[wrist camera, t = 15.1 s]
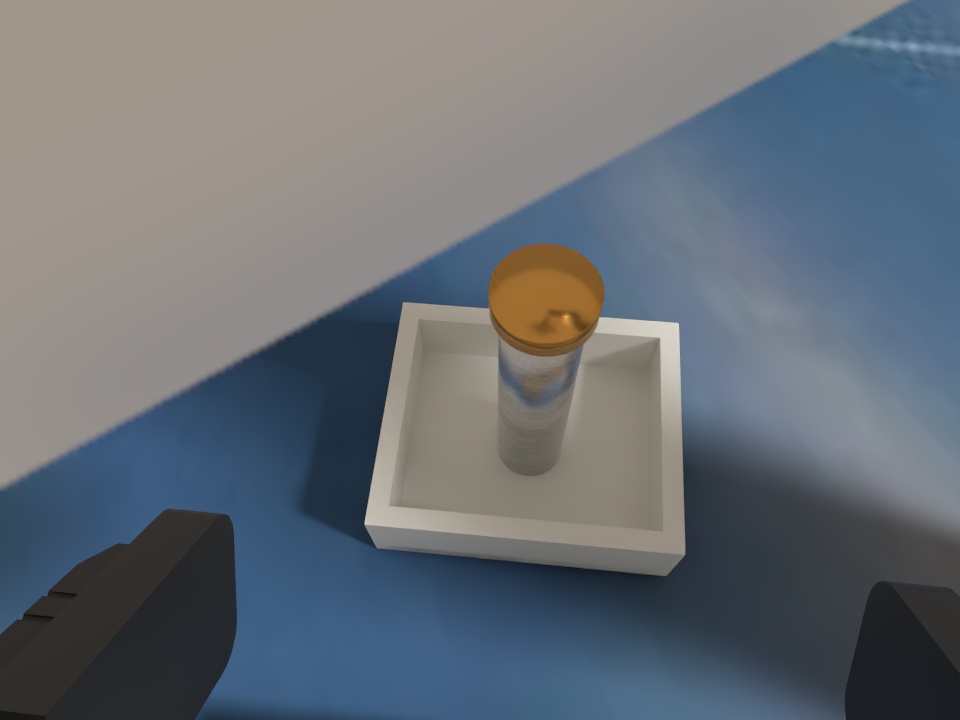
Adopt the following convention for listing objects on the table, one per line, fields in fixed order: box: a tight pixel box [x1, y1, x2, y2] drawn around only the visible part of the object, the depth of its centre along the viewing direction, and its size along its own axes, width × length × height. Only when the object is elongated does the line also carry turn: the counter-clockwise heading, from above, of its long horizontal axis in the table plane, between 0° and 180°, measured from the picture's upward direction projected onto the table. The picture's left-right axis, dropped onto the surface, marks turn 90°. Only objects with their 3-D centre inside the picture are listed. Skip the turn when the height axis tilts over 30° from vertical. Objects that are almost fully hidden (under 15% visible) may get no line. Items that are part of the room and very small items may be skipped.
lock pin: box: [489, 244, 604, 476], centre depth 28 cm, size 3×3×12 cm
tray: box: [364, 302, 685, 576], centre depth 32 cm, size 12×10×4 cm
